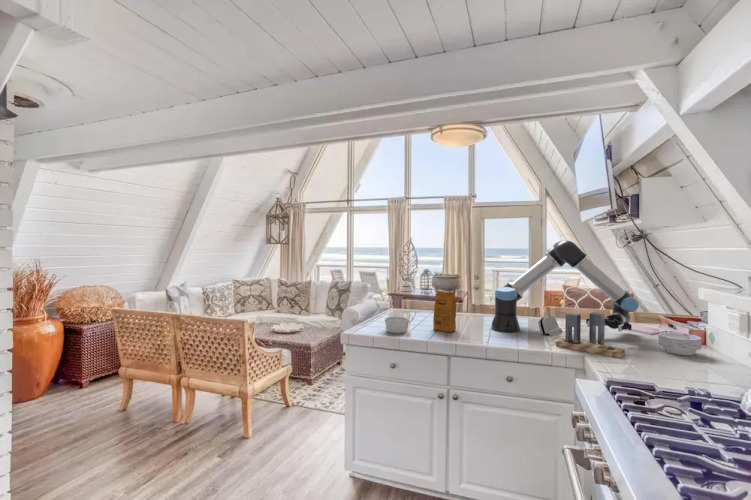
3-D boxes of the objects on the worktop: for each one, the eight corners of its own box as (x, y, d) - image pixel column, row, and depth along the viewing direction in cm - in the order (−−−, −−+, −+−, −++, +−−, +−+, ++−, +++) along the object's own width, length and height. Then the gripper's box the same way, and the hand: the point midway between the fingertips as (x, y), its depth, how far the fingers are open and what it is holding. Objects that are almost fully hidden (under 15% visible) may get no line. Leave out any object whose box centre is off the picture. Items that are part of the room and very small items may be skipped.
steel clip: (589, 345, 181) (589, 313, 180) (592, 344, 184) (593, 312, 184) (600, 347, 177) (601, 314, 177) (604, 346, 180) (604, 313, 180)
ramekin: (408, 329, 214) (409, 316, 214) (408, 334, 201) (408, 321, 201) (385, 328, 216) (385, 316, 215) (383, 333, 202) (383, 320, 202)
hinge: (550, 335, 200) (544, 317, 202) (541, 337, 203) (535, 319, 206) (562, 331, 212) (556, 313, 214) (554, 332, 215) (548, 315, 217)
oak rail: (556, 346, 179) (556, 341, 179) (562, 343, 185) (562, 338, 185) (619, 358, 161) (619, 352, 161) (624, 354, 166) (624, 348, 166)
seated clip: (565, 346, 178) (565, 314, 178) (569, 345, 182) (569, 312, 181) (576, 349, 174) (577, 315, 174) (580, 347, 178) (580, 314, 178)
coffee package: (438, 327, 220) (438, 289, 219) (458, 330, 212) (458, 291, 212) (430, 330, 212) (430, 290, 211) (450, 333, 204) (451, 292, 204)
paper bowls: (649, 348, 177) (650, 331, 177) (680, 348, 178) (680, 331, 178) (677, 358, 162) (677, 339, 162) (711, 357, 163) (711, 339, 163)
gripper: (643, 331, 193) (633, 338, 178) (589, 324, 211) (576, 329, 196) (643, 317, 193) (633, 322, 178) (589, 310, 211) (576, 315, 196)
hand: (603, 326), depth 187 cm, fingers open, 13 cm apart
